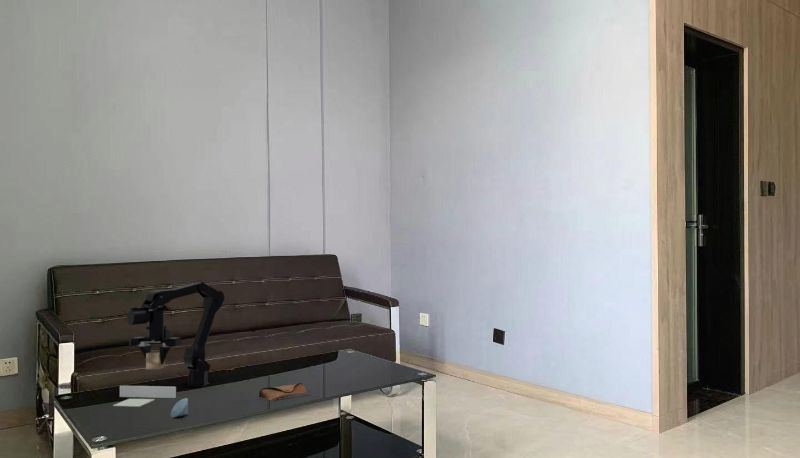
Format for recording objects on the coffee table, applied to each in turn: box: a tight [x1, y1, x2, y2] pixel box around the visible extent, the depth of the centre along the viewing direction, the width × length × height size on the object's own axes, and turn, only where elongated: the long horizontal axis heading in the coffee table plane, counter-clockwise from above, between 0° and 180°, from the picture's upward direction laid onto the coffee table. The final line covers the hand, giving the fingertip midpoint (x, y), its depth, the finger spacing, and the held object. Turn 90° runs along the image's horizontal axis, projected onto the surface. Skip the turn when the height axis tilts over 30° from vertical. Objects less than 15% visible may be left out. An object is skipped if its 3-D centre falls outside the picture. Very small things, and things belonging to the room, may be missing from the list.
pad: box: [112, 398, 156, 408], centre depth 223 cm, size 10×10×1 cm
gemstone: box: [170, 397, 189, 419], centre depth 205 cm, size 8×8×5 cm
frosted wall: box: [119, 385, 177, 399], centre depth 232 cm, size 22×1×4 cm, turn 82°
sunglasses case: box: [258, 382, 308, 400], centre depth 231 cm, size 18×7×7 cm
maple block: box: [145, 350, 166, 370], centre depth 238 cm, size 5×5×6 cm
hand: (155, 364), depth 238 cm, fingers closed on maple block, 5 cm apart
